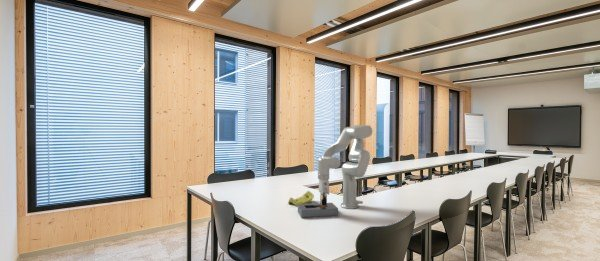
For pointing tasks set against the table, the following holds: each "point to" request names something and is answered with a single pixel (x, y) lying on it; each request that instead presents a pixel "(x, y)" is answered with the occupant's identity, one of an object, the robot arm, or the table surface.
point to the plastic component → (302, 199)
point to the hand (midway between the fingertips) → (323, 203)
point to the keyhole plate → (317, 210)
